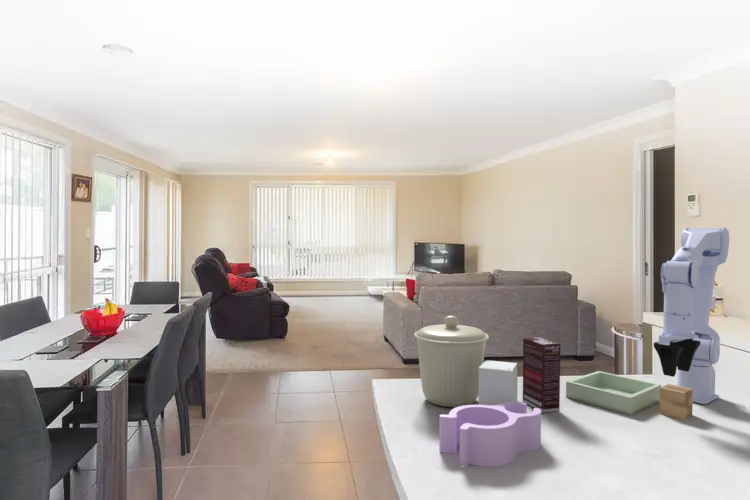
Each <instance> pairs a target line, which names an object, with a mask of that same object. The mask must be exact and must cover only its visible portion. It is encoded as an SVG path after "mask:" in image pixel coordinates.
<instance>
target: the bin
mask: <svg viewBox="0 0 750 500" xmlns="http://www.w3.org/2000/svg"><path fill="white" fill-rule="evenodd" d="M661 387H662V384H658V383H655V382H651V381H650V382H649V381H646V380H642V379H636V378H632V377H628V376H624V375H619V374H614V373H609V372H606V371H605V372H604V371H600V370H597V371H595V372H591V373H588V374H585V375H581V376H579V377H576V378H572V379H569V380H567V381H565V398H568V399H571V400H574V401H577V402H582V403H586V404H589V405H592V406H596V407H599V408H604V409H607V410H610V411H614V412H617V413H622V414H624V415H628V416H631V415H634V414H636V413H639V412H641V411H643V410H645V409H647V408H649V407H651V406H654V405H656V404H657V403H660V388H661Z"/></svg>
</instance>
